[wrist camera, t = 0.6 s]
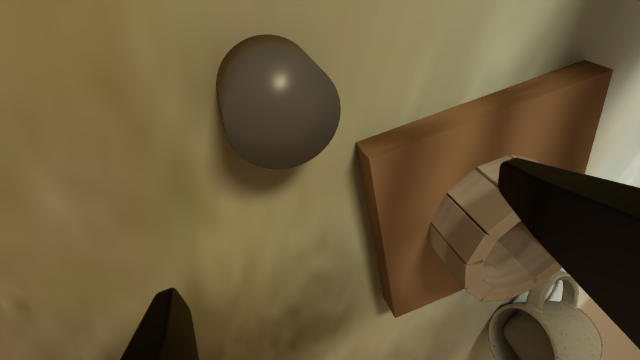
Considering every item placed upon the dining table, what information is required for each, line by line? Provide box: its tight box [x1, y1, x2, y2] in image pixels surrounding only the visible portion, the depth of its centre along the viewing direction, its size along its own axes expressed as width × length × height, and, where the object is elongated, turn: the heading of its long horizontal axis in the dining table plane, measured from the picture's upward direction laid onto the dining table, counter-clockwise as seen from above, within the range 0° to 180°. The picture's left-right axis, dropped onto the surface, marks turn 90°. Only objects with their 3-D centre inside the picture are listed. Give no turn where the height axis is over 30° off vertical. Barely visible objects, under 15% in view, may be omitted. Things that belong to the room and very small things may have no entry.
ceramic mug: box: [488, 270, 602, 360], centre depth 38 cm, size 11×8×8 cm
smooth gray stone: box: [216, 35, 340, 169], centre depth 18 cm, size 5×5×4 cm
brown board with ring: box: [356, 60, 613, 318], centre depth 26 cm, size 16×16×6 cm
